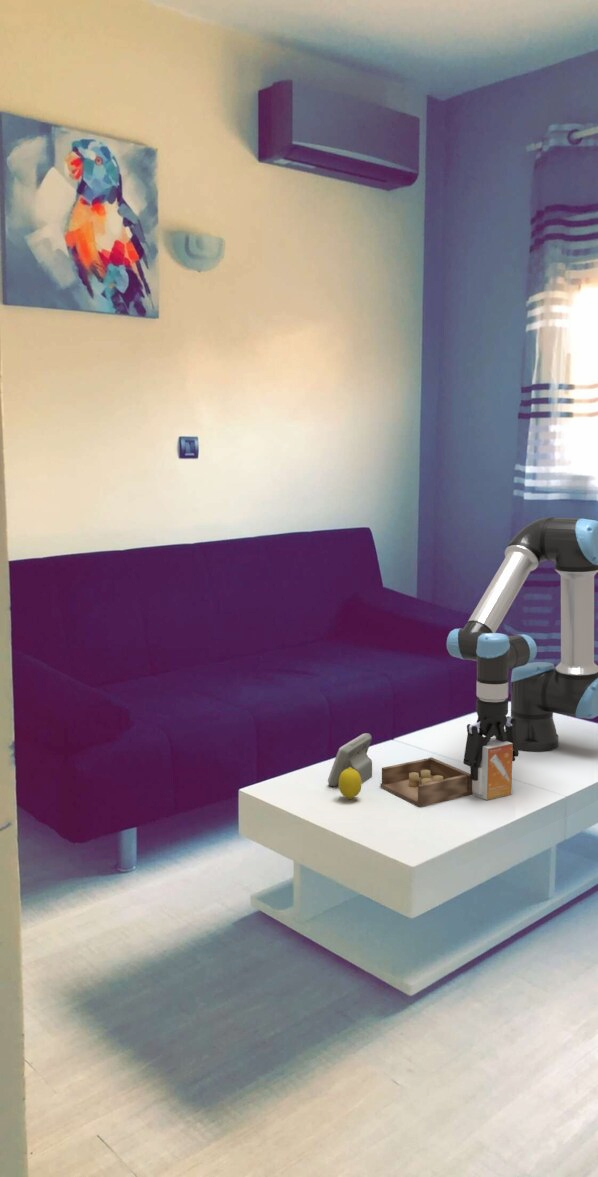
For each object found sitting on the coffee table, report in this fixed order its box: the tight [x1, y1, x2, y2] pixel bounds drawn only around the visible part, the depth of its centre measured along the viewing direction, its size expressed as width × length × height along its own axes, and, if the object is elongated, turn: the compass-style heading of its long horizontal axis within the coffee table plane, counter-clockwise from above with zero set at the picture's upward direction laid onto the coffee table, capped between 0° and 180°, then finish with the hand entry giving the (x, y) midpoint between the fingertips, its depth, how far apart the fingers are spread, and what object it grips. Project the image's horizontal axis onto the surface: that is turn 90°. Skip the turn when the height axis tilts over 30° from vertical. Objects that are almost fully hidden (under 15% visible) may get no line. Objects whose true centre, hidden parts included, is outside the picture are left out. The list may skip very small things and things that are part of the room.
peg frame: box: [379, 756, 473, 808], centre depth 238 cm, size 16×16×5 cm
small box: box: [472, 736, 513, 801], centre depth 235 cm, size 8×6×13 cm
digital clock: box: [327, 732, 373, 787], centre depth 246 cm, size 16×9×11 cm, turn 139°
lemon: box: [338, 767, 363, 800], centre depth 232 cm, size 6×6×8 cm
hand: (490, 789), depth 235 cm, fingers closed on small box, 8 cm apart
